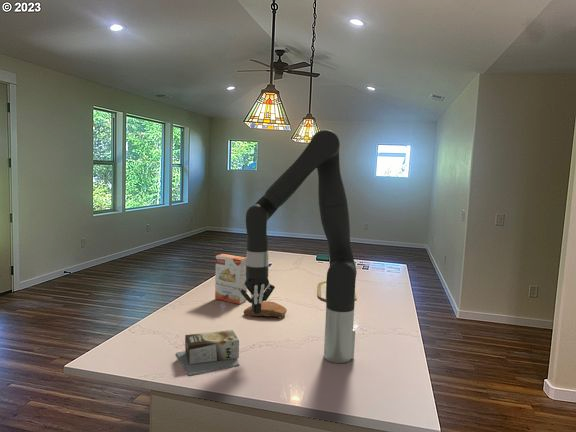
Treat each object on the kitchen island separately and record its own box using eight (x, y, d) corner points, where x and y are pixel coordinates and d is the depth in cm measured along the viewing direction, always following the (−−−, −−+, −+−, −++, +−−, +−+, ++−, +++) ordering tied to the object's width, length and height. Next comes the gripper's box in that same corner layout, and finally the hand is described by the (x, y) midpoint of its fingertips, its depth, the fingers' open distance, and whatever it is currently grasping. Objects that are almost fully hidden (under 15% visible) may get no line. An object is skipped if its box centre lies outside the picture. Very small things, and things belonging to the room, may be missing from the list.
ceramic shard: (267, 311, 168) (241, 308, 177) (270, 327, 169) (244, 322, 178) (290, 298, 179) (265, 296, 188) (293, 313, 180) (267, 309, 189)
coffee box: (239, 339, 136) (189, 345, 130) (239, 358, 137) (189, 365, 131) (232, 329, 144) (184, 334, 138) (232, 346, 145) (184, 353, 139)
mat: (222, 345, 147) (222, 344, 147) (239, 365, 133) (239, 364, 133) (176, 353, 139) (176, 352, 139) (189, 375, 125) (189, 374, 125)
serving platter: (317, 303, 198) (317, 299, 197) (317, 282, 232) (317, 279, 232) (357, 305, 196) (358, 302, 196) (352, 284, 231) (352, 281, 231)
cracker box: (214, 299, 196) (215, 255, 194) (222, 296, 201) (222, 253, 199) (239, 304, 190) (240, 259, 187) (246, 301, 195) (247, 257, 192)
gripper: (243, 268, 134) (242, 320, 136) (279, 264, 141) (278, 314, 143) (234, 263, 141) (234, 313, 143) (270, 259, 147) (269, 307, 149)
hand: (256, 313), depth 143 cm, fingers closed
